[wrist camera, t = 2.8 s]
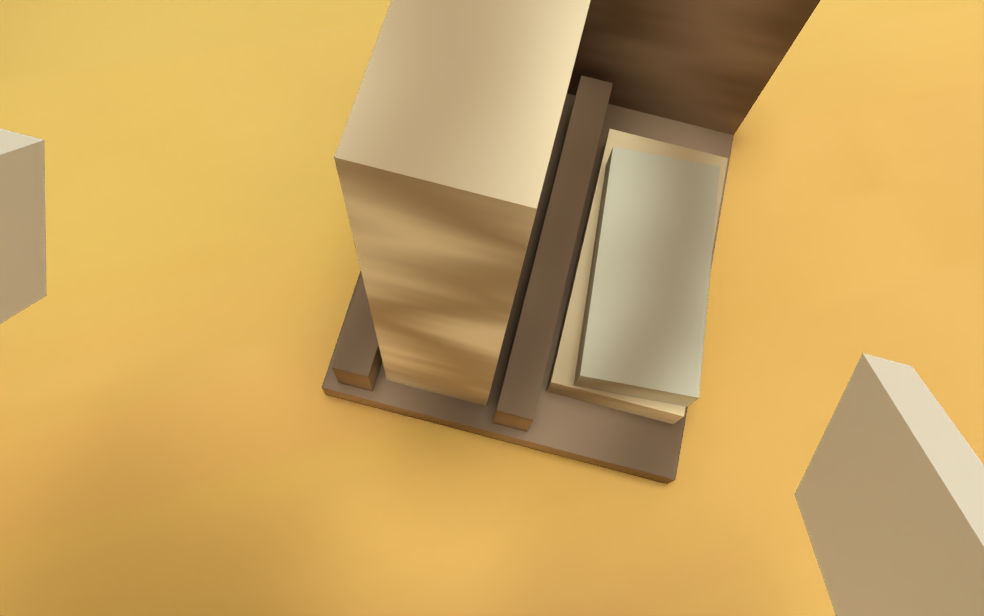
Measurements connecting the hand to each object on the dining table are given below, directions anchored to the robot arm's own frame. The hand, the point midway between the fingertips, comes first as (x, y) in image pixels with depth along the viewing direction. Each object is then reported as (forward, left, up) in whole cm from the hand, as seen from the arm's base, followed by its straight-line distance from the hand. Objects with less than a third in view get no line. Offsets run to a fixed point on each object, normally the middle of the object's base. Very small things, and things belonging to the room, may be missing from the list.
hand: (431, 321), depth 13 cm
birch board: (-7, +4, -15) cm, 17 cm away
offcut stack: (-5, +9, -15) cm, 18 cm away
